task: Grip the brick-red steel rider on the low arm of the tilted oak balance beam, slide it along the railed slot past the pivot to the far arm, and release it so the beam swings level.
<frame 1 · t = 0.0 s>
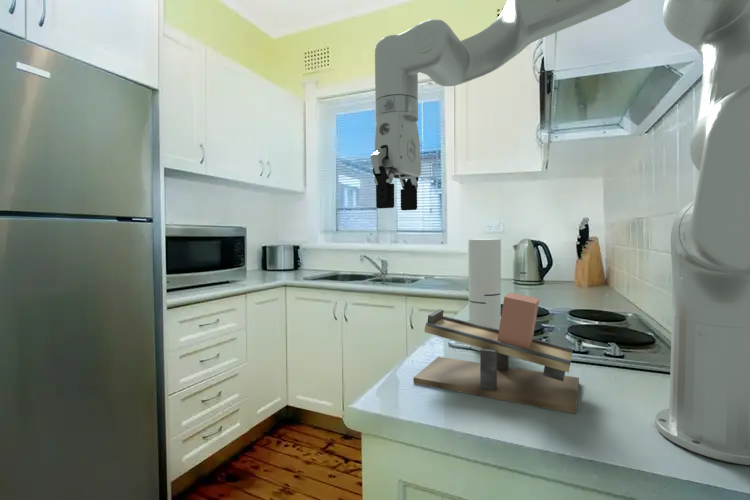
hand: (397, 209, 71), 31 cm above the worktop, tool pointing down, fingers open, 9 cm apart
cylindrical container: (484, 347, 92), on the worktop
rider: (514, 342, 69), point 8 cm above the worktop, tilted 9°, touching beam
beam: (496, 341, 70), point 7 cm above the worktop, hinge at -8.6°, touching rider
stand: (495, 383, 71), on the worktop
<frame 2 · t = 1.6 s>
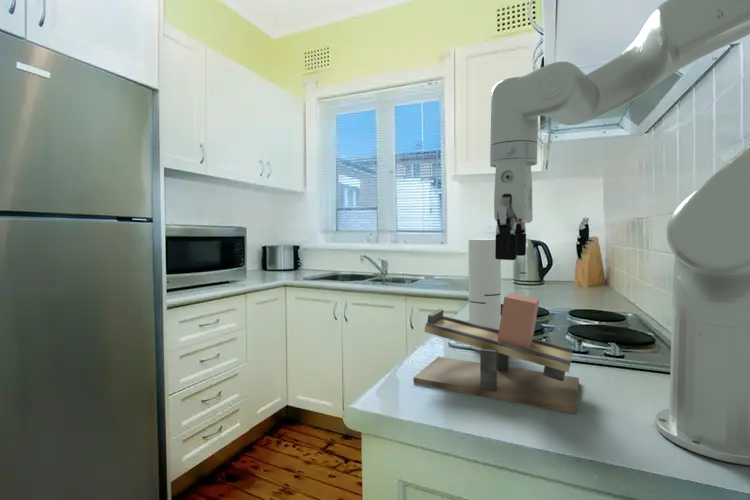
hand: (511, 257, 68), 22 cm above the worktop, tool pointing down, fingers open, 9 cm apart
nothing on the worktop moved.
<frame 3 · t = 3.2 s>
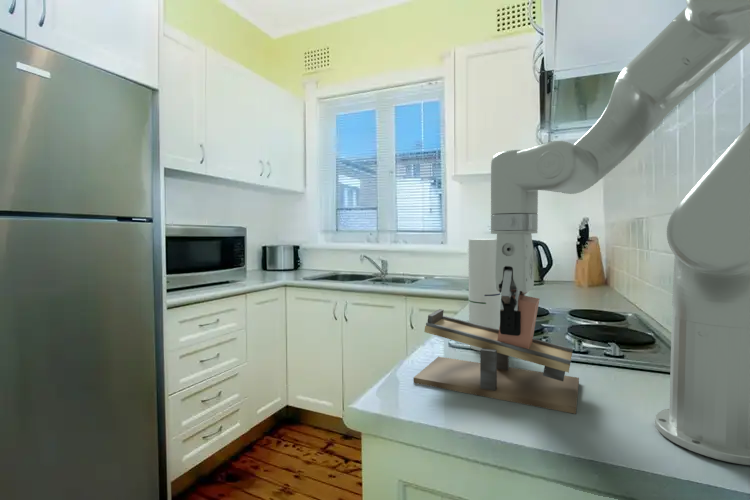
hand: (513, 329, 69), 10 cm above the worktop, tool pointing down, fingers closed on rider, 5 cm apart
rider: (514, 342, 69), point 8 cm above the worktop, tilted 9°, touching beam, gripper
everything else where it was.
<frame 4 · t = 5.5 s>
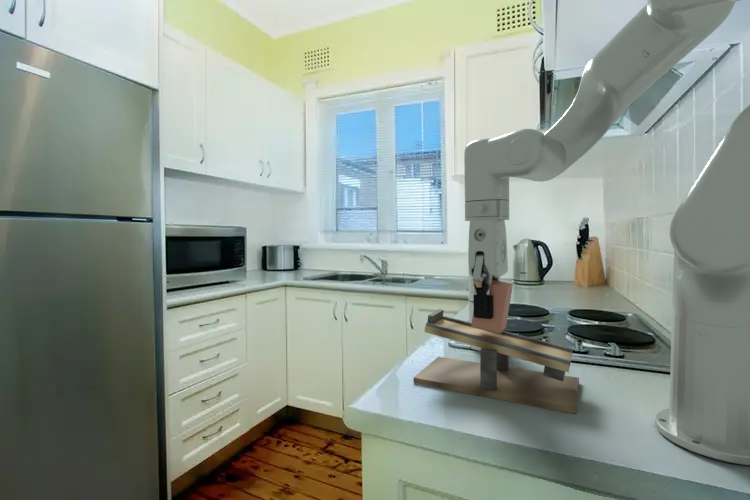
hand: (487, 313, 71), 12 cm above the worktop, tool pointing down, fingers closed on rider, 5 cm apart
rider: (488, 326, 71), point 10 cm above the worktop, tilted 8°, touching gripper
beam: (496, 341, 70), point 7 cm above the worktop, hinge at -8.6°
everything else where it was.
when the fingers open (12 cm above the worktop, at t = 7.7 s): rider stays where it is, resting on beam.
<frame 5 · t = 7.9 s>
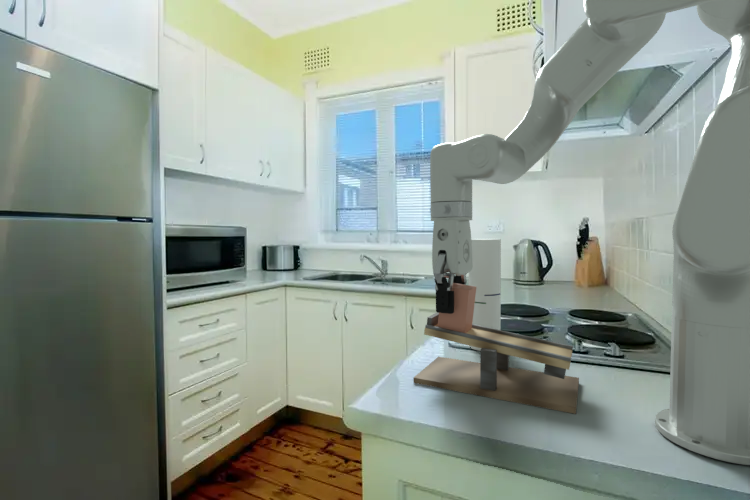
hand: (451, 308, 74), 13 cm above the worktop, tool pointing down, fingers open, 7 cm apart
rider: (454, 328, 74), point 9 cm above the worktop, tilted 6°, touching beam
beam: (495, 341, 70), point 7 cm above the worktop, hinge at -6.5°, touching rider
everything else where it was.
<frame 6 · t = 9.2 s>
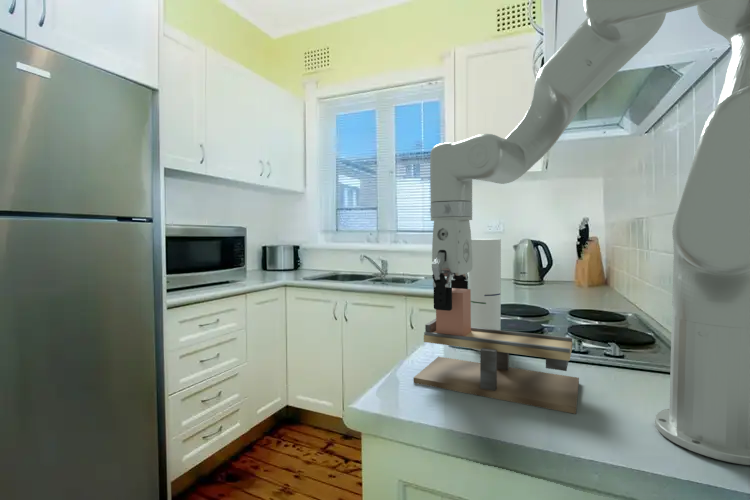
hand: (451, 304, 74), 13 cm above the worktop, tool pointing down, fingers open, 9 cm apart
rider: (453, 333, 74), point 8 cm above the worktop, touching beam
beam: (495, 341, 70), point 7 cm above the worktop, hinge at 0.3°, touching rider
everything else where it was.
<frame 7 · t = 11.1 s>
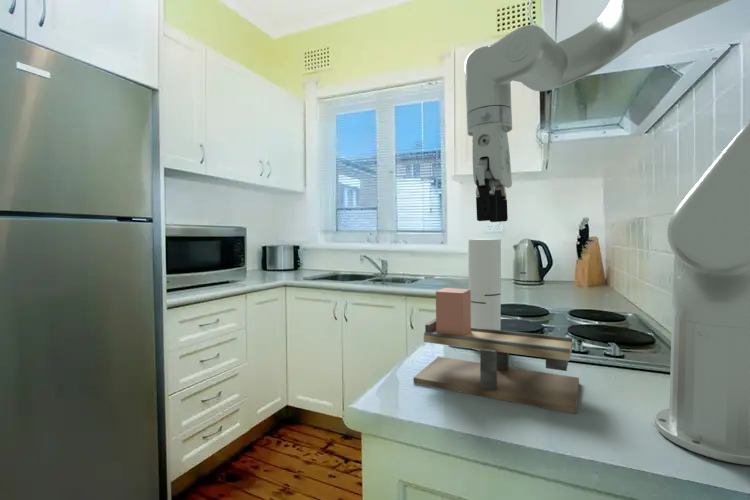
hand: (493, 221, 70), 29 cm above the worktop, tool pointing down, fingers open, 9 cm apart
nothing on the worktop moved.
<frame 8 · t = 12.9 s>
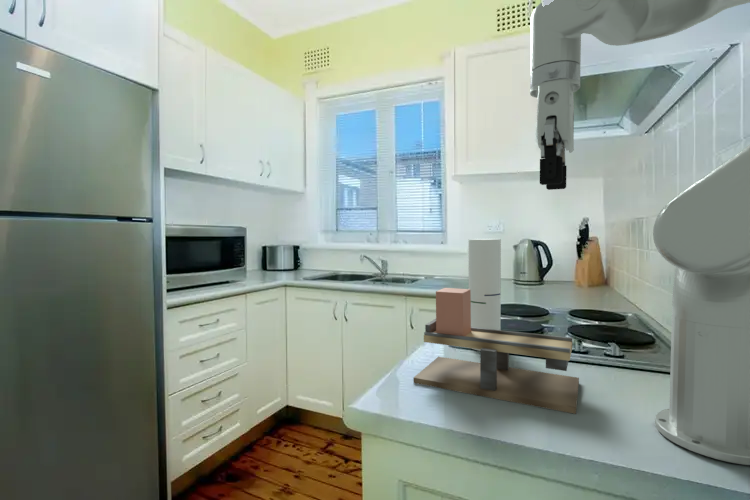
hand: (553, 186, 66), 34 cm above the worktop, tool pointing down, fingers open, 9 cm apart
nothing on the worktop moved.
at the end: beam at +0° (first picture: -9°); rider 0.2 cm from the target spot on the beam, point 1.2 cm above the beam's base; rider tilted 0° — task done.
